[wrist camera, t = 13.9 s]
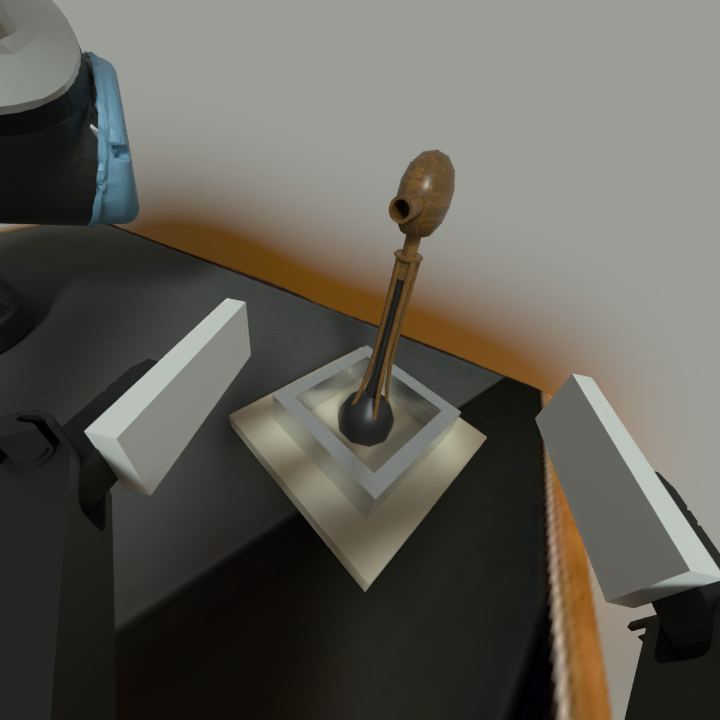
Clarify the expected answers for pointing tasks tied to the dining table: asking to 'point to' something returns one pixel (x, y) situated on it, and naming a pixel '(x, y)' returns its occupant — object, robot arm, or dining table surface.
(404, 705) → the dining table surface
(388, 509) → the stand
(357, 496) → the collar
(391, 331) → the wooden tabletop sculpture
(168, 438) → the robot arm
